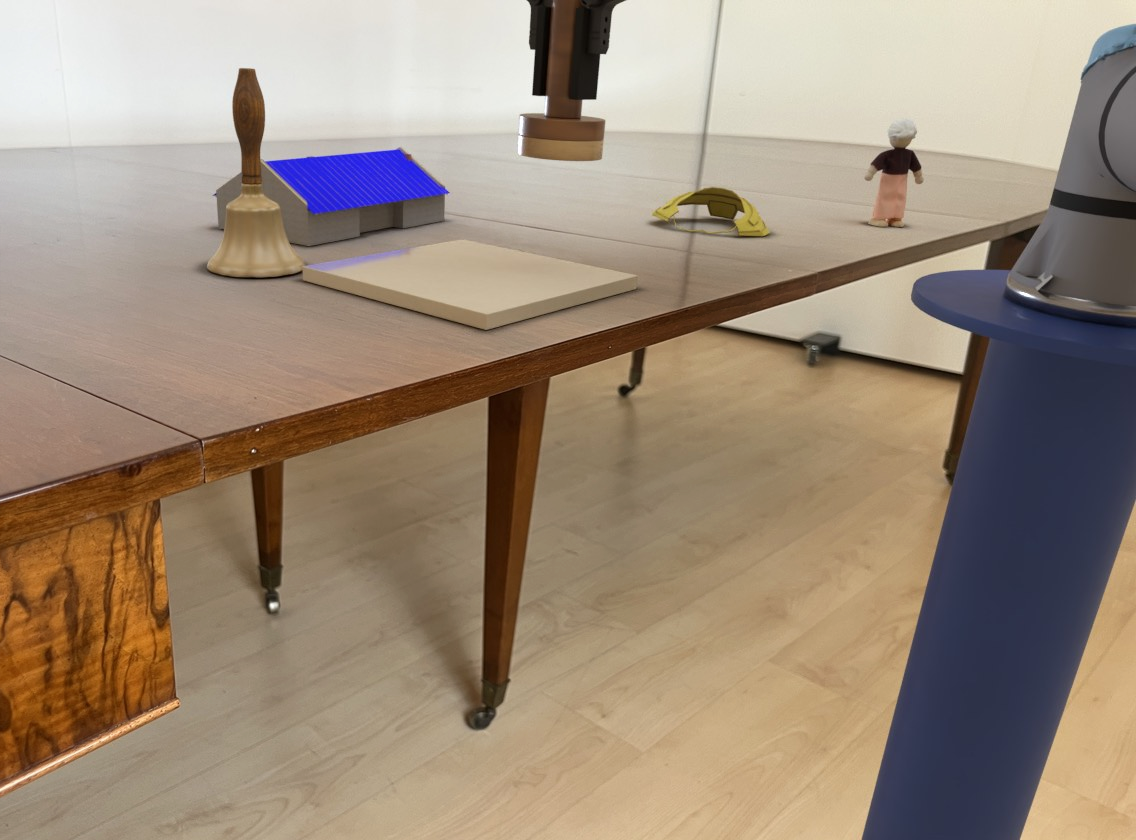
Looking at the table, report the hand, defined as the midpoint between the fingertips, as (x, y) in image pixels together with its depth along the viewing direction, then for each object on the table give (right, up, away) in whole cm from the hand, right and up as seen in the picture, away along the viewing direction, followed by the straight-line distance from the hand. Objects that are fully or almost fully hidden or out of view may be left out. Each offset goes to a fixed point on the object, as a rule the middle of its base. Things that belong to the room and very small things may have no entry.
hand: (564, 96), depth 80 cm
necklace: (+20, -1, +38) cm, 43 cm away
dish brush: (0, -4, +2) cm, 5 cm away
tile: (-8, -14, +4) cm, 17 cm away
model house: (-23, -3, +27) cm, 35 cm away
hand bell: (-26, -13, +6) cm, 30 cm away
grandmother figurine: (+43, +1, +45) cm, 62 cm away
